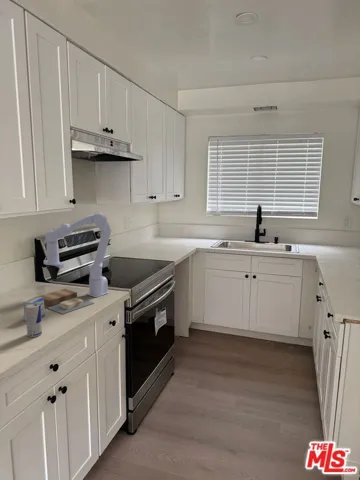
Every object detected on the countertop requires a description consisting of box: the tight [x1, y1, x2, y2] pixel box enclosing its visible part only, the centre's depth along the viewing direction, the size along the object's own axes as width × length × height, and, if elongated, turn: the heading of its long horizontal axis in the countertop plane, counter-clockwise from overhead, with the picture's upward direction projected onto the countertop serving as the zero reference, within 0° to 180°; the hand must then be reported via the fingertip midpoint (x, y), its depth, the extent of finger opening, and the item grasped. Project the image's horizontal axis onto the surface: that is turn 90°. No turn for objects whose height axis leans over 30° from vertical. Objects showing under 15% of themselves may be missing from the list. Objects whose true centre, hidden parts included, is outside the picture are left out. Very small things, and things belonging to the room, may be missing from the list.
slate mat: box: [47, 297, 95, 315], centre depth 161 cm, size 18×12×1 cm, turn 144°
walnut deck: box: [36, 288, 78, 308], centre depth 168 cm, size 16×10×4 cm, turn 144°
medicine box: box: [22, 296, 46, 322], centre depth 146 cm, size 8×4×9 cm, turn 164°
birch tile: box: [60, 297, 83, 309], centre depth 161 cm, size 9×6×2 cm, turn 144°
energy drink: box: [25, 303, 43, 338], centre depth 129 cm, size 5×5×12 cm
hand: (54, 279), depth 173 cm, fingers closed
